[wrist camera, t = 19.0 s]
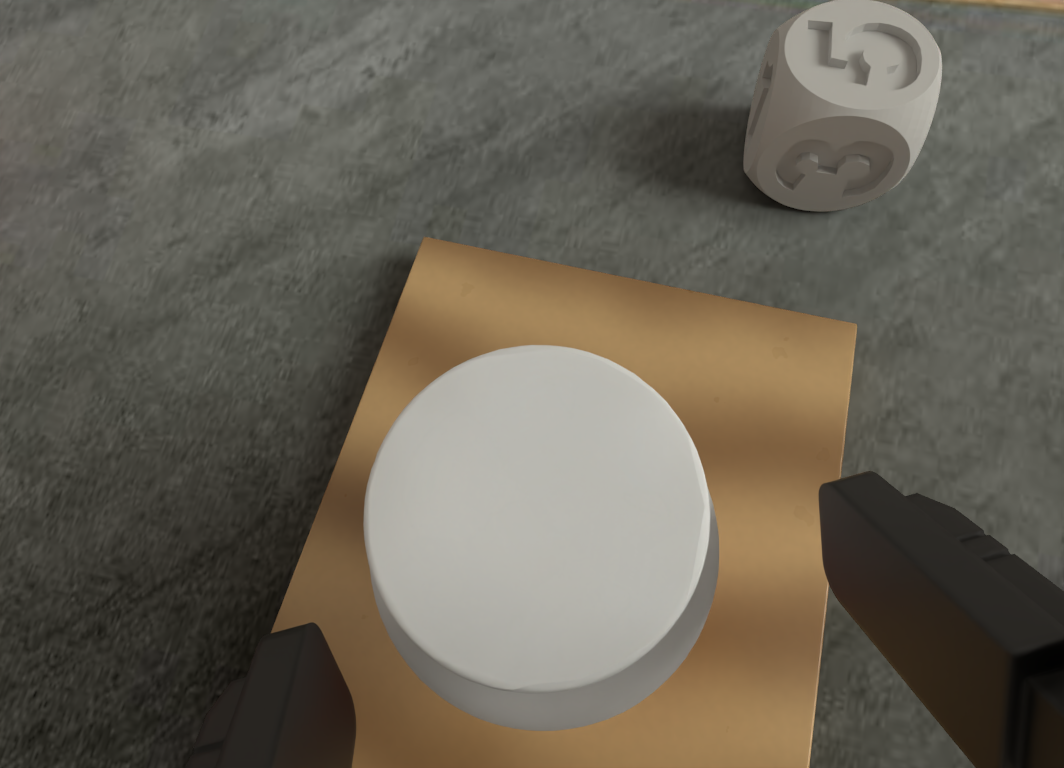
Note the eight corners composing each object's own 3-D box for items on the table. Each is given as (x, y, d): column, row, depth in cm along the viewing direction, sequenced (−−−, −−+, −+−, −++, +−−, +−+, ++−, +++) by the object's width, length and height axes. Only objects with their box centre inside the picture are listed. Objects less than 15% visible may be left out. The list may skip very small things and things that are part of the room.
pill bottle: (419, 663, 18) (222, 686, 8) (478, 453, 20) (381, 262, 10) (641, 724, 17) (736, 836, 7) (678, 498, 20) (792, 336, 9)
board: (431, 258, 25) (423, 235, 24) (841, 343, 23) (858, 323, 21) (202, 866, 18) (172, 884, 17) (754, 1074, 16) (772, 1116, 14)
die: (748, 103, 27) (784, -11, 22) (876, 116, 26) (942, 2, 21) (738, 204, 25) (775, 104, 20) (875, 221, 24) (946, 121, 20)
